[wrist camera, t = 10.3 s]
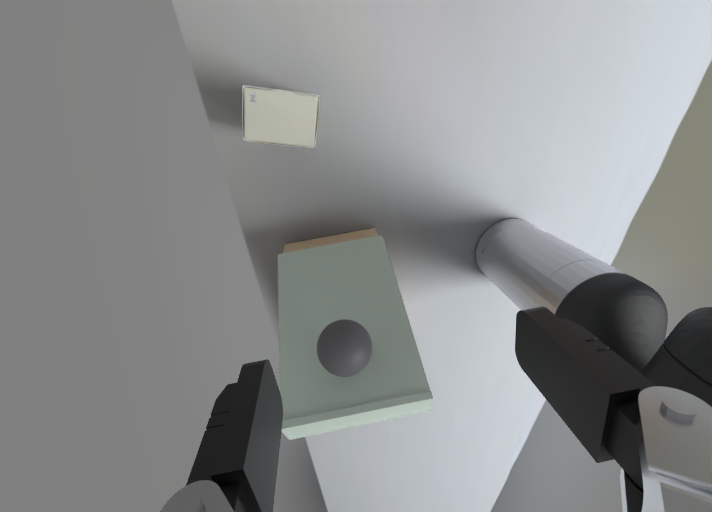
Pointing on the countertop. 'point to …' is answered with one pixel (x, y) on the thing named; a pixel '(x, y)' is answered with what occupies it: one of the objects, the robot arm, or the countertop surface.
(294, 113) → the skincare box
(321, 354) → the lid
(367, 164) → the countertop surface
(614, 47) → the countertop surface
